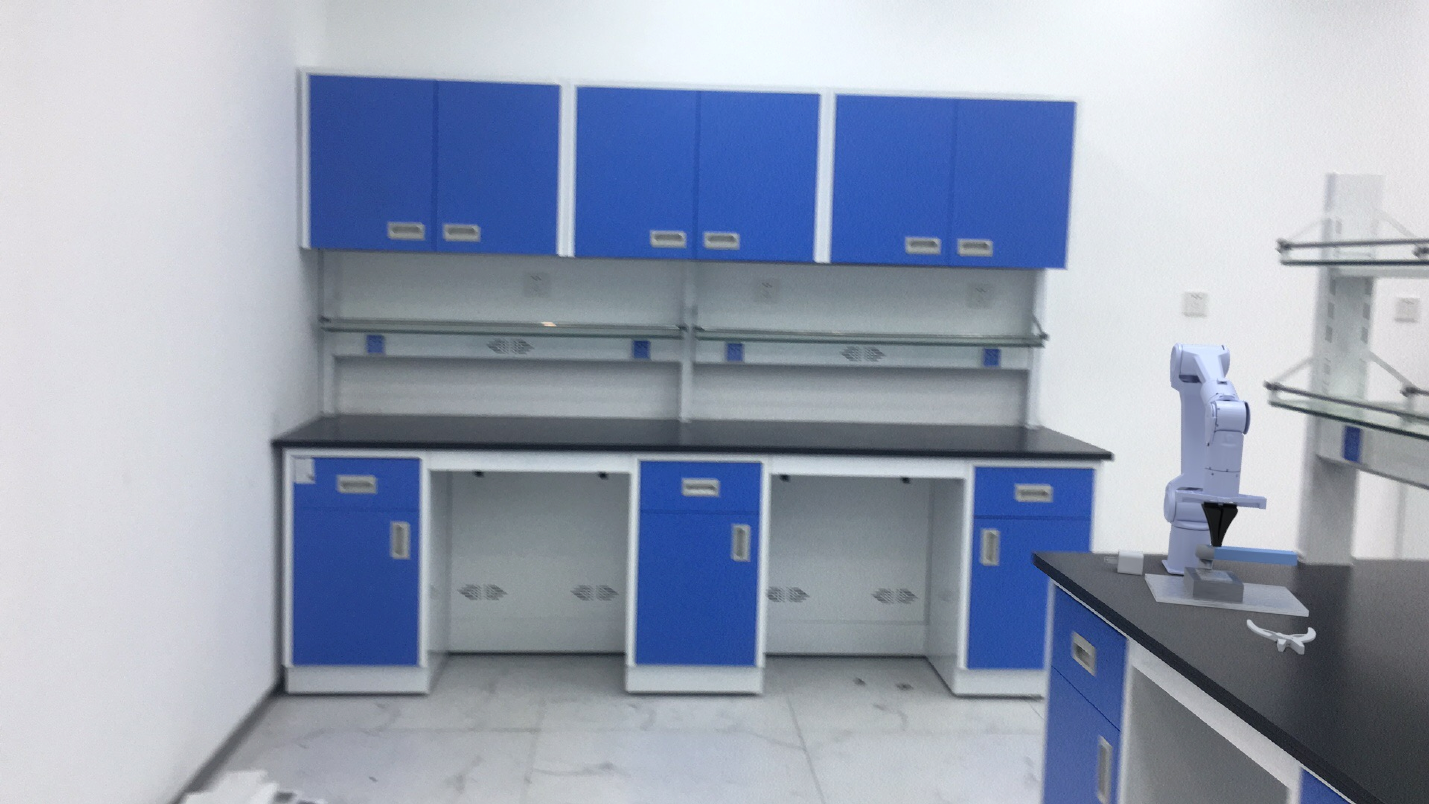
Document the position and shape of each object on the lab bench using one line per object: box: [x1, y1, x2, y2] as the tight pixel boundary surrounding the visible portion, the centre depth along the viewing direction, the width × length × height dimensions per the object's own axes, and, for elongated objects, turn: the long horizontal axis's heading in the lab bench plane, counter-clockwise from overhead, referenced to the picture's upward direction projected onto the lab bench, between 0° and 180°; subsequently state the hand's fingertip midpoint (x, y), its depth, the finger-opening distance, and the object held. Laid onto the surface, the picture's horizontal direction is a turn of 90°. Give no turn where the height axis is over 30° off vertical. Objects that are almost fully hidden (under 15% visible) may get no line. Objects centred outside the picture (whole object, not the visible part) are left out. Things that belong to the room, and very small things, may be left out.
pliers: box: [1246, 619, 1317, 655], centre depth 174 cm, size 10×2×15 cm
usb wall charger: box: [1103, 548, 1144, 576], centre depth 213 cm, size 4×7×4 cm, turn 72°
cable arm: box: [1195, 544, 1299, 567], centre depth 202 cm, size 17×4×2 cm, turn 80°
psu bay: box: [1144, 558, 1310, 618], centre depth 197 cm, size 16×24×5 cm, turn 76°
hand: (1216, 545), depth 195 cm, fingers closed
